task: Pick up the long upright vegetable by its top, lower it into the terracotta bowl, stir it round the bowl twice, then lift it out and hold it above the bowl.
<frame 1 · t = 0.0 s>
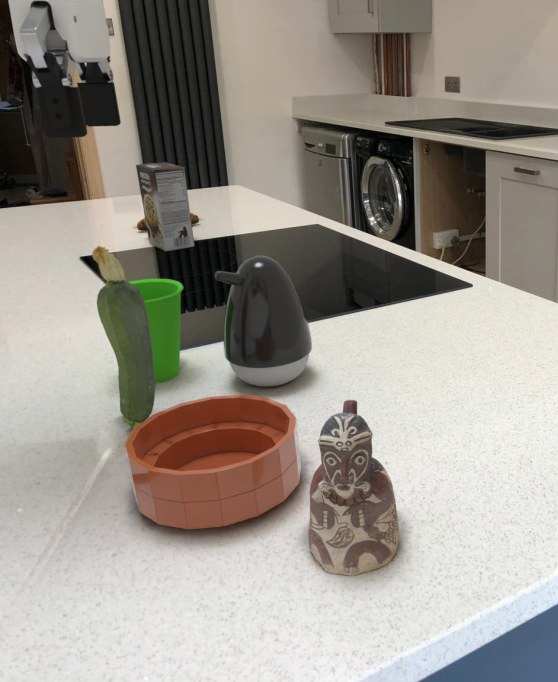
hand: (86, 131, 67), 30 cm above the countertop, tool pointing down, fingers open, 9 cm apart
figurine: (355, 547, 59), on the countertop
croissant: (169, 229, 165), on the countertop
pump dispenser: (271, 379, 89), on the countertop
bowl: (221, 488, 67), on the countertop
vegetable: (145, 429, 78), on the countertop
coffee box: (171, 246, 150), on the countertop
cup: (157, 376, 90), on the countertop
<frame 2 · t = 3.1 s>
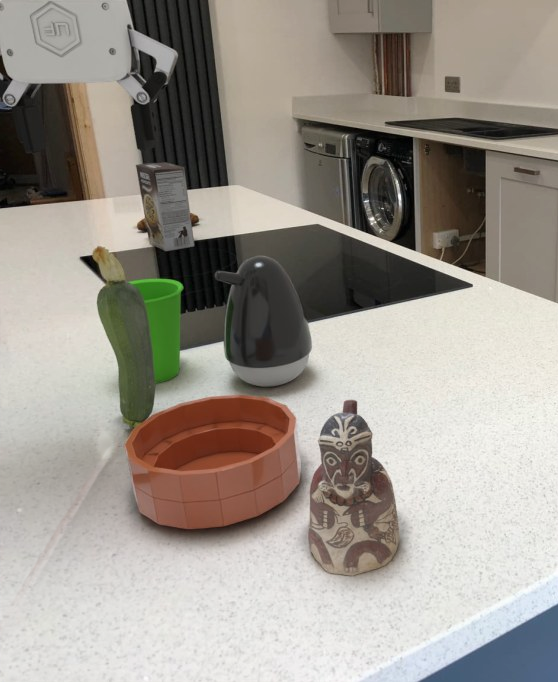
hand: (92, 150, 67), 29 cm above the countertop, tool pointing down, fingers open, 9 cm apart
nothing on the countertop moved.
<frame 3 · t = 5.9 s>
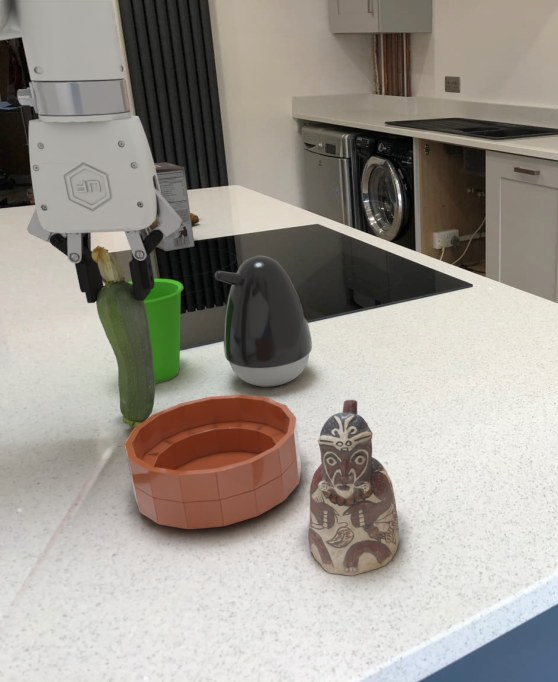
hand: (119, 295, 72), 15 cm above the countertop, tool pointing down, fingers closed on vegetable, 3 cm apart
vegetable: (145, 429, 78), on the countertop, touching gripper
everything else where it was.
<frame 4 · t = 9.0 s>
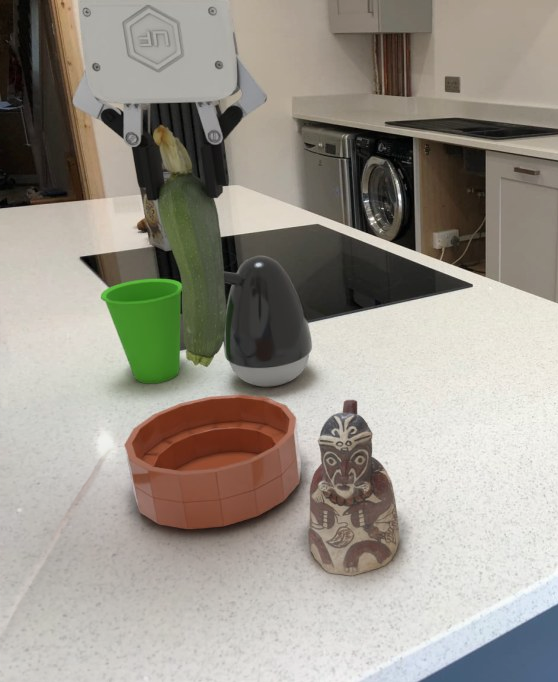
hand: (186, 193, 57), 27 cm above the countertop, tool pointing down, fingers closed on vegetable, 3 cm apart
vegetable: (213, 368, 63), point 12 cm above the countertop, touching gripper
everything else where it was.
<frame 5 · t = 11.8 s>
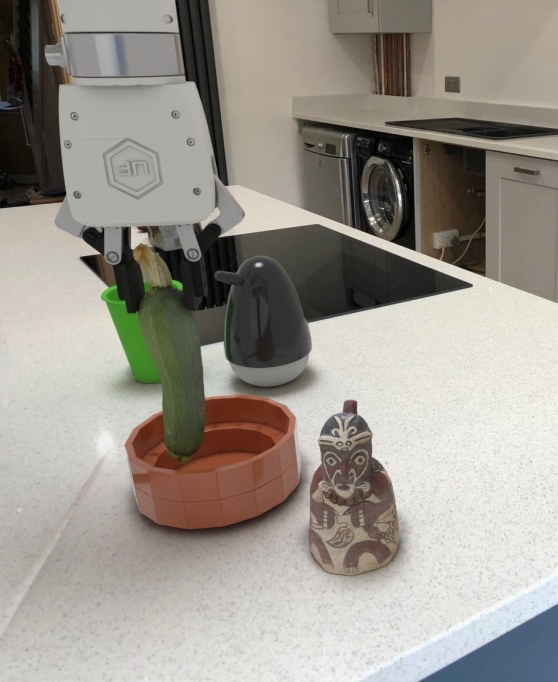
hand: (165, 304, 59), 18 cm above the countertop, tool pointing down, fingers closed on vegetable, 3 cm apart
vegetable: (193, 465, 64), point 3 cm above the countertop, touching gripper
everything else where it was.
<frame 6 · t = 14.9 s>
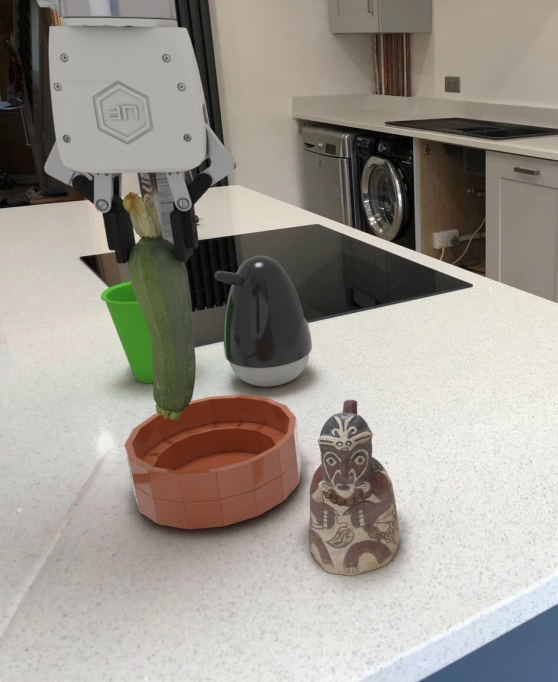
hand: (156, 255, 58), 22 cm above the countertop, tool pointing down, fingers closed on vegetable, 3 cm apart
vegetable: (182, 421, 64), point 7 cm above the countertop, touching gripper
everything else where it was.
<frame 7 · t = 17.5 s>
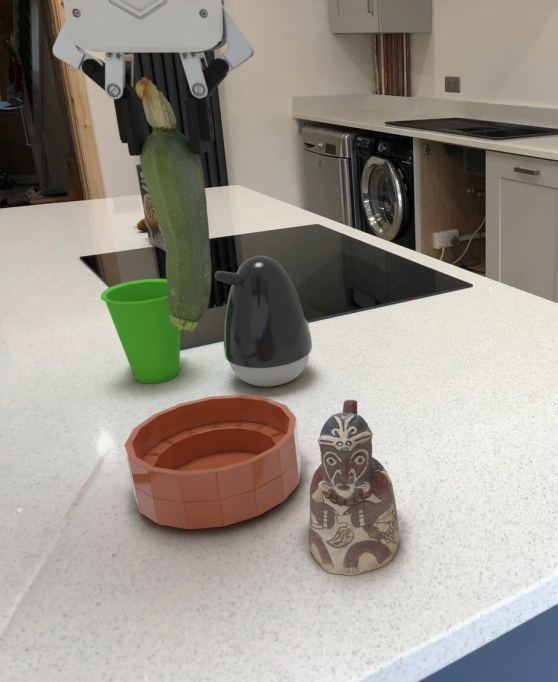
hand: (170, 150, 56), 30 cm above the countertop, tool pointing down, fingers closed on vegetable, 3 cm apart
vegetable: (198, 333, 61), point 15 cm above the countertop, touching gripper
everything else where it was.
at the end: the gripper is holding vegetable; vegetable 0.1 cm from the bowl (horizontally); vegetable moved 22.2 cm from its start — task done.
